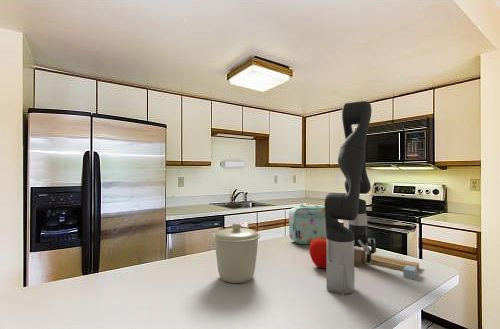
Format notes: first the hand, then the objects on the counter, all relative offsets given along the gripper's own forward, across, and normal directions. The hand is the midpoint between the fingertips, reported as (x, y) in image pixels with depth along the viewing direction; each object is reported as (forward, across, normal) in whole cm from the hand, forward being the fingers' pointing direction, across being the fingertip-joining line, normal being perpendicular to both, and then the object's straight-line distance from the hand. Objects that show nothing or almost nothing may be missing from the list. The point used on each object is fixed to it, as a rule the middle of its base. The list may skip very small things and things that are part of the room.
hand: (358, 260), depth 120 cm
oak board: (+2, +8, +8) cm, 11 cm away
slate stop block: (+2, +20, 0) cm, 20 cm away
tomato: (+2, -10, -14) cm, 17 cm away
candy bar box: (+2, -42, -29) cm, 51 cm away
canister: (+2, -30, -46) cm, 55 cm away
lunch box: (+2, -33, +19) cm, 38 cm away
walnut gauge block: (+2, 0, 0) cm, 2 cm away
